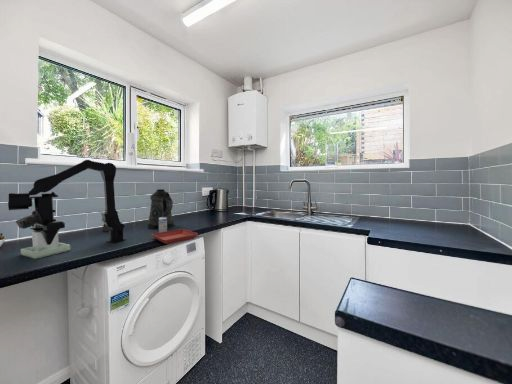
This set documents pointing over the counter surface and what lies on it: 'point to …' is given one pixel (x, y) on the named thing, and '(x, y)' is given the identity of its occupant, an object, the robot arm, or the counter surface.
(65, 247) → the tray
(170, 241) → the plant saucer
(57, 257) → the counter surface
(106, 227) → the door stopper
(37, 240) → the aluminium block
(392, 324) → the counter surface
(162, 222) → the medicine box
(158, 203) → the dark olive backpack
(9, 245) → the counter surface
